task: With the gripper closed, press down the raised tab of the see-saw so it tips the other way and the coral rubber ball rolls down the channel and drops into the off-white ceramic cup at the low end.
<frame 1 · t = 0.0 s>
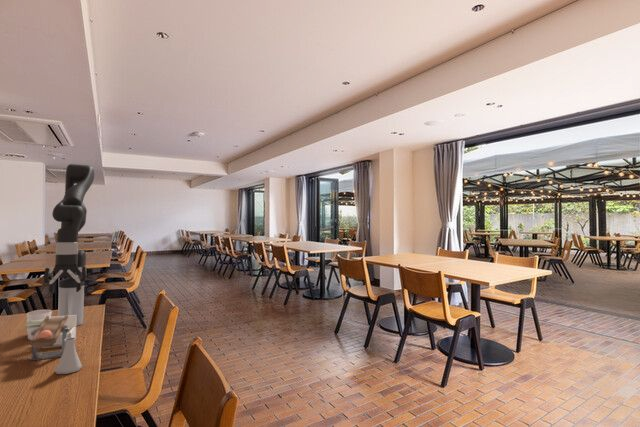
hand: (65, 292, 144), 17 cm above the table, tool pointing down, fingers open, 8 cm apart
flask: (68, 370, 112), on the table
ball: (45, 335, 116), point 9 cm above the table, tilted 19°, touching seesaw
white cup: (38, 337, 140), on the table
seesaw: (42, 330, 121), point 9 cm above the table, hinge at 12.0°, touching ball
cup: (59, 342, 135), on the table
stand: (49, 356, 122), on the table
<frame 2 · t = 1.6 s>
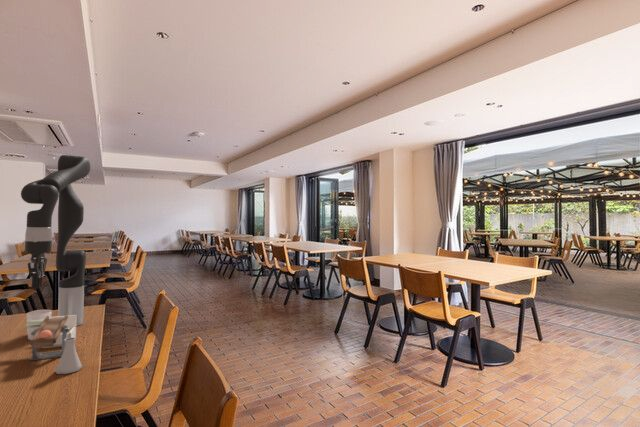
hand: (36, 287, 126), 23 cm above the table, tool pointing down, fingers closed
nothing on the table moved.
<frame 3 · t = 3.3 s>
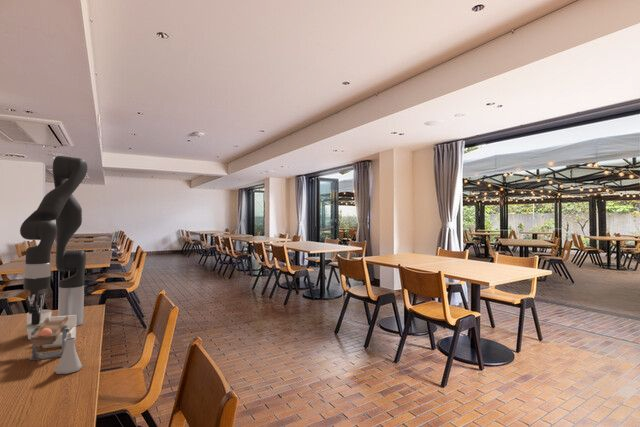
hand: (35, 323, 126), 10 cm above the table, tool pointing down, fingers closed
ball: (45, 333, 116), point 10 cm above the table, tilted 14°, touching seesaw
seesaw: (42, 330, 121), point 9 cm above the table, hinge at 7.2°, touching ball, gripper
everything else where it was.
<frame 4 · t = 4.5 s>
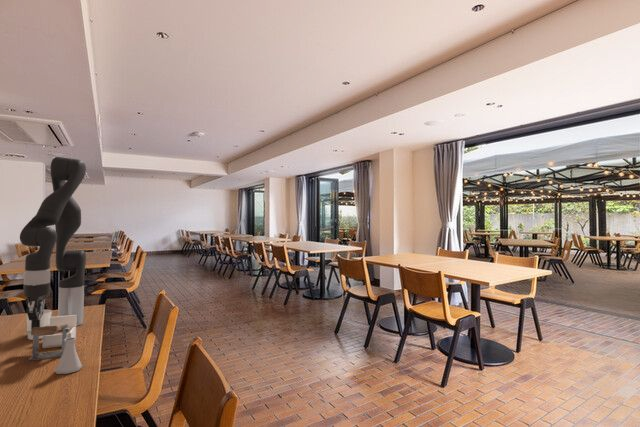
hand: (35, 330, 126), 8 cm above the table, tool pointing down, fingers closed
ball: (61, 334, 136), point 3 cm above the table, tilted 103°, touching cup
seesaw: (42, 329, 121), point 9 cm above the table, hinge at -12.4°, touching gripper
everything else where it was.
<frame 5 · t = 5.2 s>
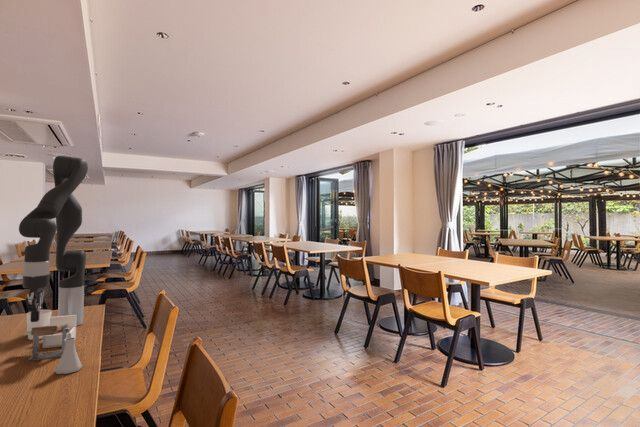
hand: (34, 321, 126), 11 cm above the table, tool pointing down, fingers closed
ball: (61, 334, 136), point 3 cm above the table, tilted 108°, touching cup
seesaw: (42, 329, 121), point 9 cm above the table, hinge at -12.4°
everything else where it was.
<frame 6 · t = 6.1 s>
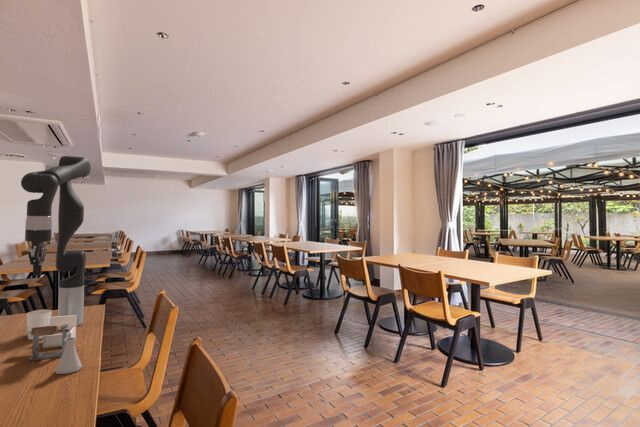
hand: (37, 275, 128), 27 cm above the table, tool pointing down, fingers closed
ball: (61, 334, 137), point 3 cm above the table, tilted 115°, touching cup
everything else where it was.
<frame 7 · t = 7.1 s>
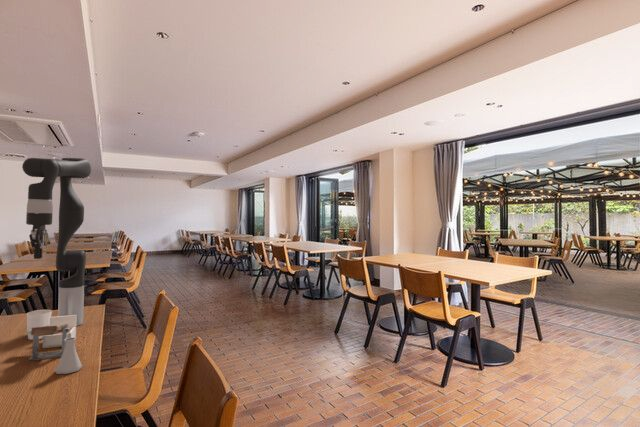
hand: (38, 258, 129), 33 cm above the table, tool pointing down, fingers closed
ball: (61, 334, 137), point 3 cm above the table, tilted 123°, touching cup
everything else where it was.
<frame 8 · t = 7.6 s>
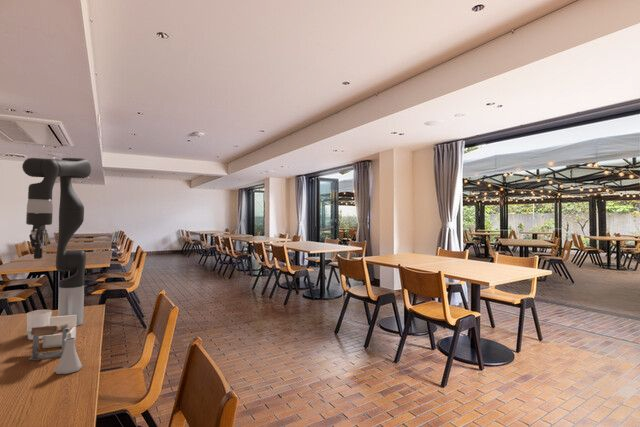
hand: (38, 258, 129), 33 cm above the table, tool pointing down, fingers closed
nothing on the table moved.
at the end: ball inside the target area on the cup (2.2 cm from its centre), point 2.5 cm above the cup's base; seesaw at -12° (first picture: +12°) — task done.
